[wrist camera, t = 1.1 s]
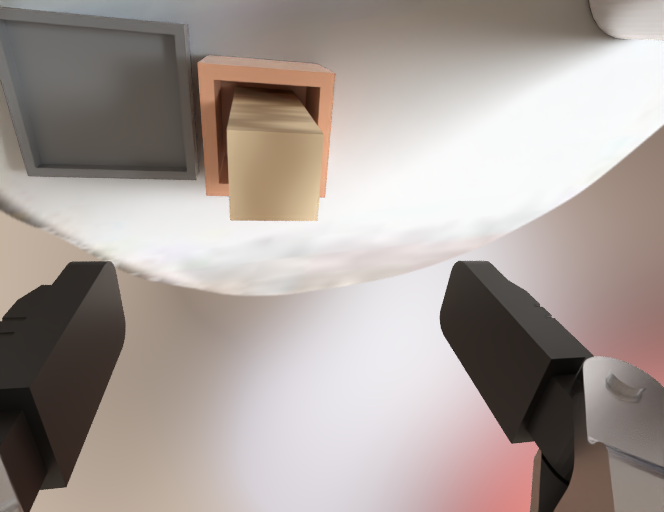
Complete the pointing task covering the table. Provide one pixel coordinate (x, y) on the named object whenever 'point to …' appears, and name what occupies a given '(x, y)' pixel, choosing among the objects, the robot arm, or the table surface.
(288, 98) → the birch peg
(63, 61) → the grey square tray
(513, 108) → the table surface
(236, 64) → the orange open box
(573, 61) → the table surface
